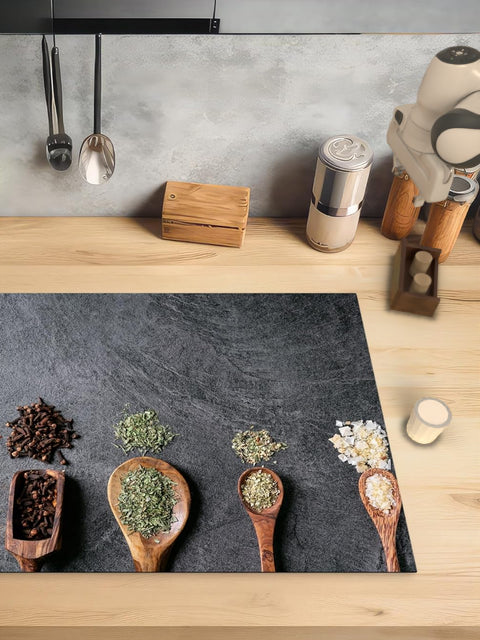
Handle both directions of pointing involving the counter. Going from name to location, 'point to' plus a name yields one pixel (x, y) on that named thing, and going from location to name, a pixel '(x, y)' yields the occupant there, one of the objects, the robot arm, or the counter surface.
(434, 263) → the spice rack
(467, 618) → the counter surface
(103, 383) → the counter surface
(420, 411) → the shot glass
